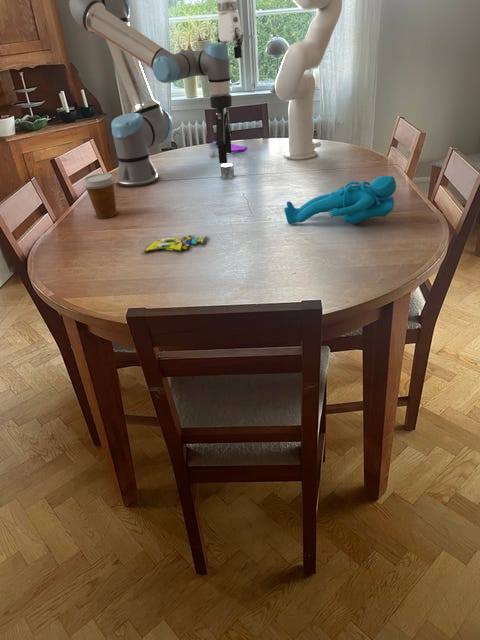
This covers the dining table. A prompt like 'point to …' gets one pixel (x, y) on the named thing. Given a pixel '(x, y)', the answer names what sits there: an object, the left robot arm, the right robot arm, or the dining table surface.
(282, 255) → the dining table surface
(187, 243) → the toy
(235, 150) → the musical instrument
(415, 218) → the dining table surface
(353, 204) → the toy
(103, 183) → the disposable coffee cup
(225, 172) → the canister
